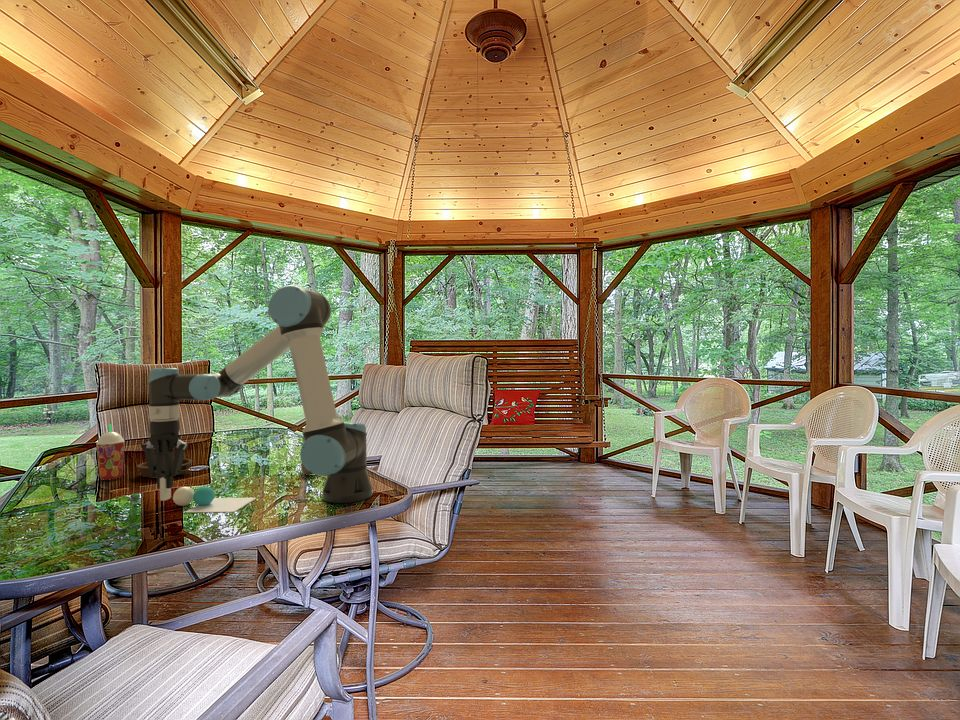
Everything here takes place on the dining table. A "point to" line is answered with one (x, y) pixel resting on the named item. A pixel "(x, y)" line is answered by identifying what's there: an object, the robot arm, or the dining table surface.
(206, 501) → the object ball
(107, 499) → the dining table surface
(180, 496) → the cue ball
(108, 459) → the smoothie
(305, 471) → the vase
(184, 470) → the dish
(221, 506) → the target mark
